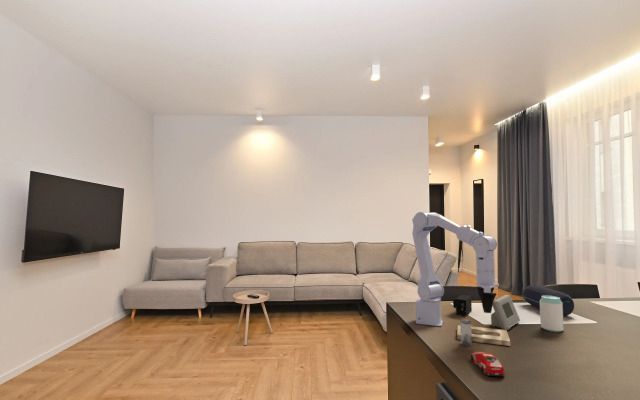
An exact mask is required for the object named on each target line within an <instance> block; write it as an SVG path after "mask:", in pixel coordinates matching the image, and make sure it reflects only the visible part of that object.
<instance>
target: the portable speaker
mask: <svg viewBox="0 0 640 400" xmlns="http://www.w3.org/2000/svg"><path fill="white" fill-rule="evenodd" d="M522 296H523V299H524V301H525V302H527V303H528V304H529V305H531V306H533V307H535V308H538V309H540V299H541V298H542V297H541V296H556V297H559V298H560V300H561V302H562V305H563V317H567V316H570V315H571V314H572V313H573V312H574V309H575V302H574V300H573V298H572V297H571V296H570V295H569V294H567V293H565V292H562V291H559V290H555V289H552V288H549V287H546V286H542V285H539V284H532V285H531V284H529V285H528V286H526V287H525V288H524V289H523V291H522Z"/></svg>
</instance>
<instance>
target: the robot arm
mask: <svg viewBox="0 0 640 400" xmlns="http://www.w3.org/2000/svg"><path fill="white" fill-rule="evenodd" d="M412 225H413V227H412V232H411V233H412V239H413V243H414V244H413V245H414V248H415V253H416V259H417V263H418V268H419V272H420V273H419V274H420V277H419V278H418V281H417V295H418V297H419V298H420V299H419V298H417V299H416V300H415V323H416V324H417V325H426V326H433V327H434V326H435V327H442V325H443V319H442V309H441V301H442V297H443V296H444V294H445V288H444V286H443V284H442V282H441V279H440V278H439V277H438V276H437V275H436V274H435V268H434V263H433V259H432V254H431V249H430V245H429V239H428V235H429V234H430V232H432V231H433V230H434V229H436V228H437V227H440V228H442V229H444V230H447V231H448V232H451V233H453V234H455V236H456V238H457V239H458V240H459V241H461V242H462V243H464V244H466V245H469V246H470V247H472V248H473V250H474V252H475V261H476V263H475V264H476V265H475V267H476V282H475V283H476V284H475V285H476V289H477V293H478V296H479V298H480V301H481V306H482V310H483V313H485V314H492V309H493V306H492V305H493V301H494V300H495V299H496V297H497V292H494V291H495V287H500V284H499V283H497V282H496V271H495V270H496V269H495V266H496V265H495V250H496V249H497V248H498V241H497V240H496V238H495V237H493V236H492V235H489V234H487V235H485V234H484V232H482V231H478V230H476V229H473V226H471V225H470V224H469V225H462V226H460V225H459V224H457V223H455V222H454V221H452V220H450V219H448V218H446V217H445V216H443V215H442V214H440V213H437V212H433V211H432V212H424V211H423V212H422V211H418V212H416V213H415V215H414V216H413V218H412Z"/></svg>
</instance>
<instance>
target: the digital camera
mask: <svg viewBox="0 0 640 400" xmlns="http://www.w3.org/2000/svg"><path fill="white" fill-rule="evenodd" d="M472 304H473V303H472V295H466V294H460V295H459V296H458V297H453V301H452V305H453V308H454V309H455V315H456V316H460V315H461V317H468V316H469V315H470V313H472V311H473V309H472V308H473V307H472Z"/></svg>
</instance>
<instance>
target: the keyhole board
mask: <svg viewBox="0 0 640 400" xmlns="http://www.w3.org/2000/svg"><path fill="white" fill-rule="evenodd" d="M471 329H472V342H477V343H485V344H493V345H499V346H508V347H511V340H510V336H509V333H508V330H503V329H498V328H490V327H489V328H488V327H481V326H479V327H478V326H472V325H471ZM456 339H457V340H460V341H461V324H457V333H456Z"/></svg>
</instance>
